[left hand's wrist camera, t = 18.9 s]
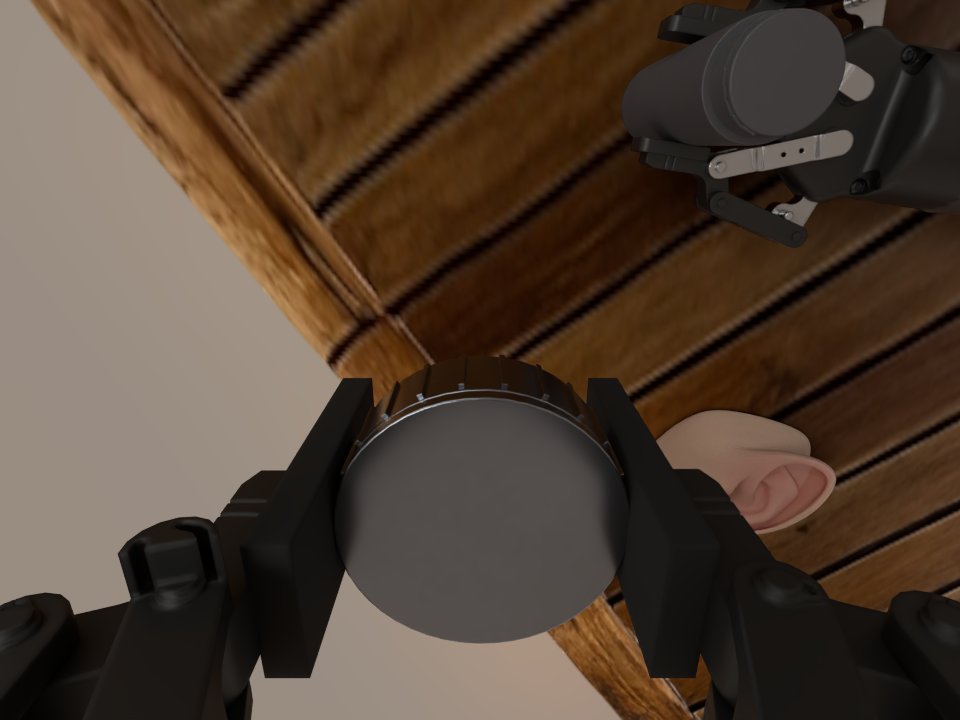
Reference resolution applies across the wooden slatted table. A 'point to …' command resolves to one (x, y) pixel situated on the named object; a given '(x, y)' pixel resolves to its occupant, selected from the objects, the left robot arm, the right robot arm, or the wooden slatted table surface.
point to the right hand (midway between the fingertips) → (650, 88)
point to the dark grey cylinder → (740, 82)
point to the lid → (481, 502)
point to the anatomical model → (752, 465)
